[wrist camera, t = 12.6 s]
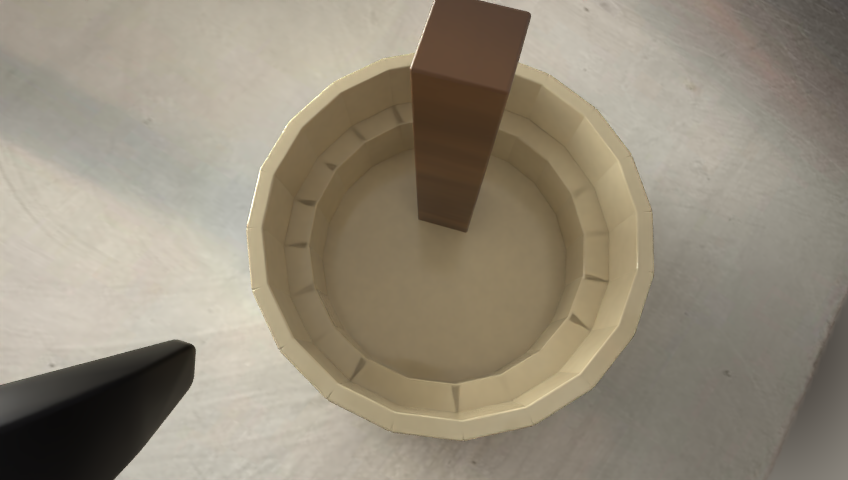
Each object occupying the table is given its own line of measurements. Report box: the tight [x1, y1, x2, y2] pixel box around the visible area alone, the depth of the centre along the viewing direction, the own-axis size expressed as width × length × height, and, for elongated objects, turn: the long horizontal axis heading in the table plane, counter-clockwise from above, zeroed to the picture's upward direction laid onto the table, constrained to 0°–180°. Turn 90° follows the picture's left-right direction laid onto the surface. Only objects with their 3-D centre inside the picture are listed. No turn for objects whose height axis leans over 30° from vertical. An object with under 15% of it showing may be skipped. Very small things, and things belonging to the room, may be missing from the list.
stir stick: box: [410, 0, 531, 233], centre depth 16 cm, size 2×2×11 cm
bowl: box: [246, 53, 654, 441], centre depth 18 cm, size 14×14×6 cm
